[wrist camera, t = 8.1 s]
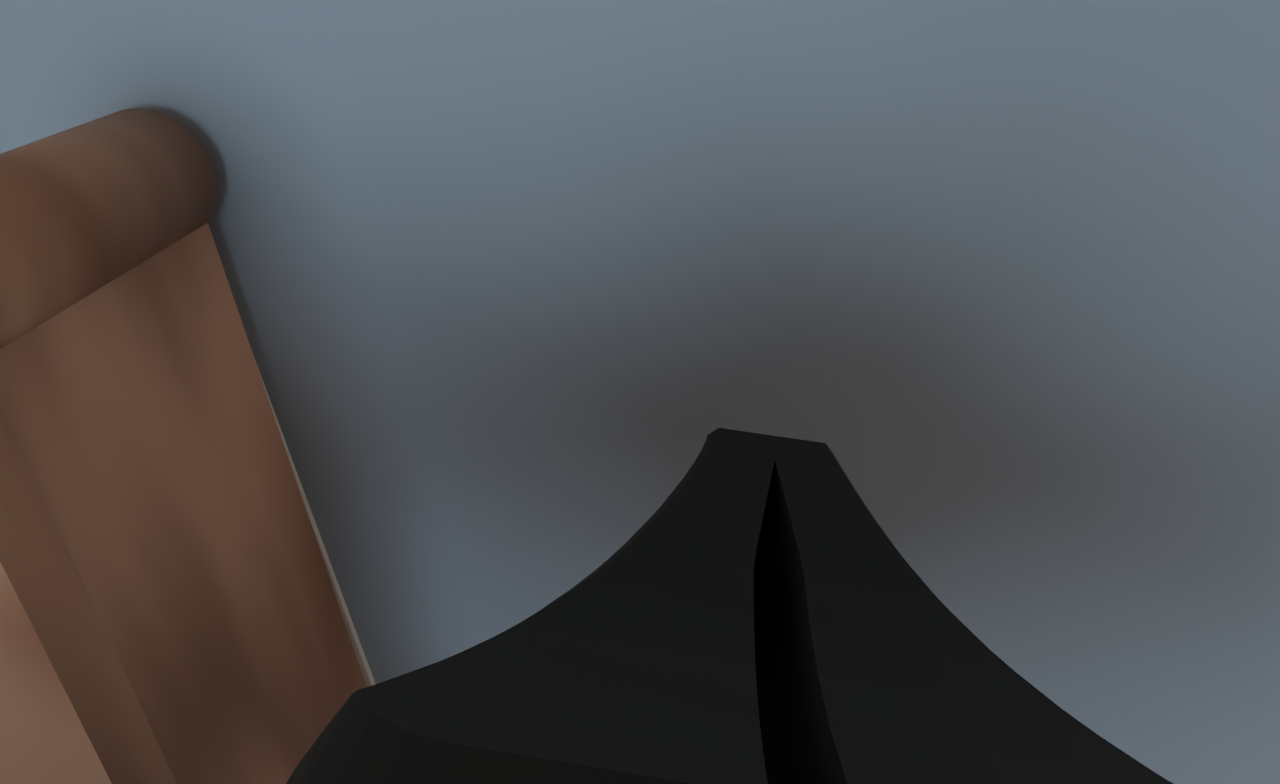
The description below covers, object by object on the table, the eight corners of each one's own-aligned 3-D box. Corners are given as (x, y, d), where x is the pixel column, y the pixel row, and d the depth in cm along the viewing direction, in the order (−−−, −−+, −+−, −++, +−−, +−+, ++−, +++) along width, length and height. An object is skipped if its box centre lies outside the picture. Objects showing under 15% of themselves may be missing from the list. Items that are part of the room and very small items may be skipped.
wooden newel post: (439, 849, 17) (320, 1185, 13) (347, 849, 17) (201, 1177, 13) (190, 99, 12) (-153, 232, 8) (66, 117, 12) (-333, 255, 8)
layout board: (1273, 1055, 18) (1285, 1086, 17) (-30, 1040, 23) (-46, 1063, 22) (1438, -328, 9) (1472, -339, 9) (-684, 125, 14) (-731, 132, 14)
